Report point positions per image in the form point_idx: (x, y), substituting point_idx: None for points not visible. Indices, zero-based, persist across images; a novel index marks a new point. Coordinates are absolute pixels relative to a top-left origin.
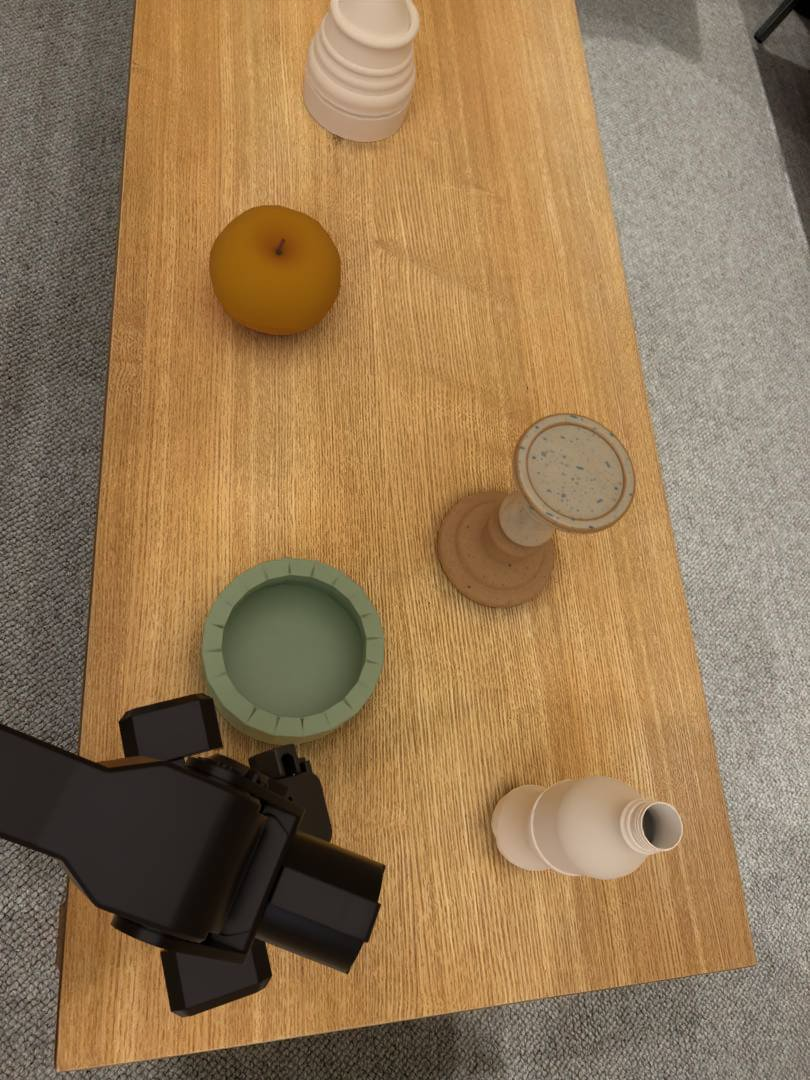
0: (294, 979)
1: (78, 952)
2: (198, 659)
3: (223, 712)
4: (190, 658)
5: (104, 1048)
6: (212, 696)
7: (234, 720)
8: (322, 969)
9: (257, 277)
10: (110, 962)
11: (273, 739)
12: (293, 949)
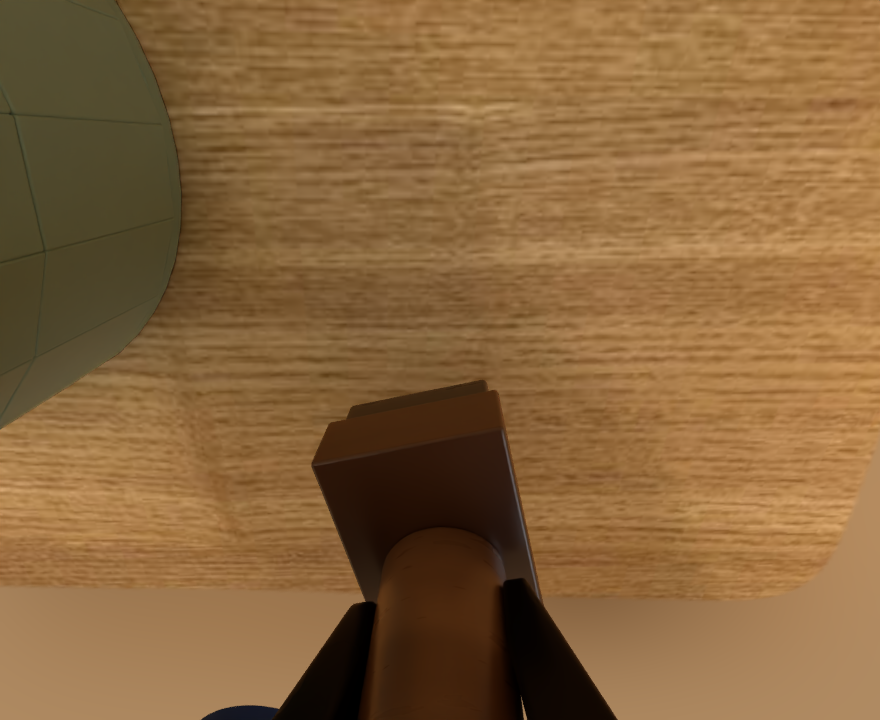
0: (856, 131)
1: (636, 589)
2: None
3: (55, 390)
4: None
5: (825, 546)
6: (29, 410)
7: (53, 370)
8: (864, 30)
9: None
10: (670, 543)
11: (84, 232)
12: None
